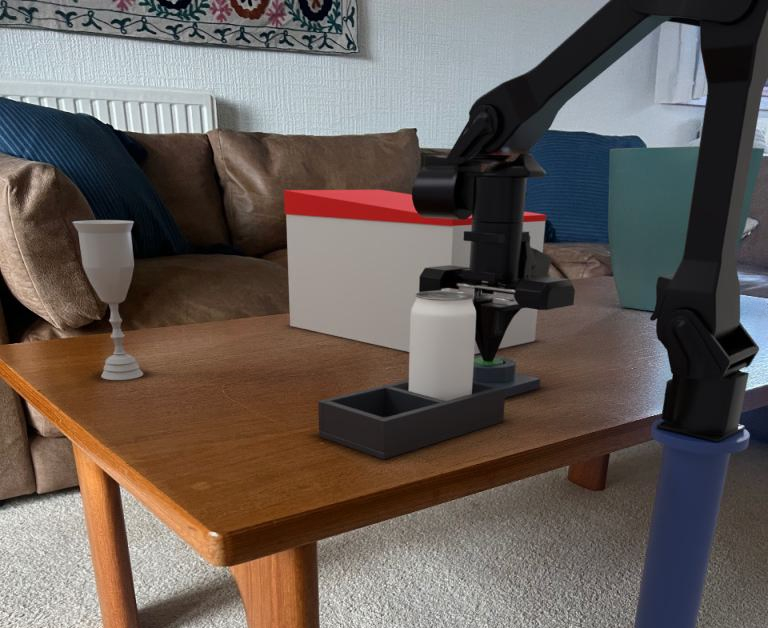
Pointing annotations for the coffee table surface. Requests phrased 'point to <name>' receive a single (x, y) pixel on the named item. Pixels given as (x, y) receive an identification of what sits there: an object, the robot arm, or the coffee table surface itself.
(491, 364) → the button
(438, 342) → the can
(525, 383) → the grey button base
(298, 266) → the red-topped white box
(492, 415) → the divided tray
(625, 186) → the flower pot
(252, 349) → the coffee table surface
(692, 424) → the robot arm
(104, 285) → the chalice
